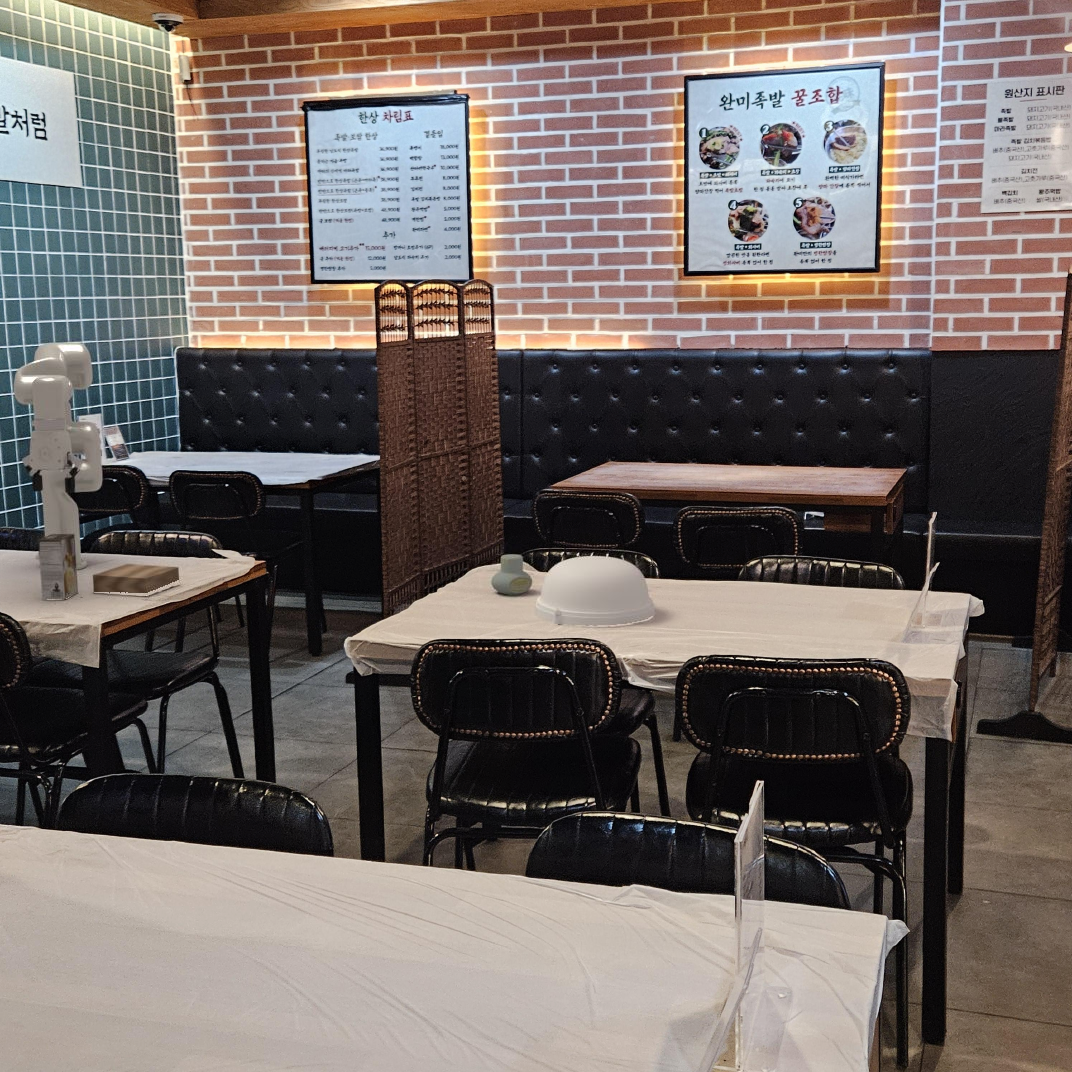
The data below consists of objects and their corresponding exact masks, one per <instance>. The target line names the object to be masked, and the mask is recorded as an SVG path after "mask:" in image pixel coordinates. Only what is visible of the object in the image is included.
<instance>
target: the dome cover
mask: <svg viewBox="0 0 1072 1072" xmlns="http://www.w3.org/2000/svg"><path fill="white" fill-rule="evenodd" d="M646 581H647V580H646V578H645V576H644V574H643V572H642V571H641V570H640V569H639V568H638V567H637V566H636V565H634V564H633V563H631V562H629V561H627V560H625V559H621V558H617V557H611V556H601V555H599V556H598V555H589V556H588V555H587V556H585V555H584V556H577V557H572V558H568V559H565V560H562V561H560V562H557V563H556V564H554V566H552V567H551V568H550V569H549V570H548V572H547V574H546V575H545V577H544V580H543V582H542V587H541V592H540V595H539V596H538V597H537V599H536V602H535V605H534V616H537V618H538V617H539V618H538V619H539V620H541V619H542V621H544V620H545V621H544V622H547V621H550V622H553V623H552V624H565V625H566V624H567V625H585V626H589V625H593V626H597V625H617V624H627V623H632V622H637V621H642V620H645V619H648V618H649V617H651V616H653V615H654V613H656V612H655V604H654V600H653V599H652V598H651V597H650V596H649V595H650V593H649V589H648V584H647V582H646ZM550 622H549V623H550ZM565 625H564V626H565Z"/></svg>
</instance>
